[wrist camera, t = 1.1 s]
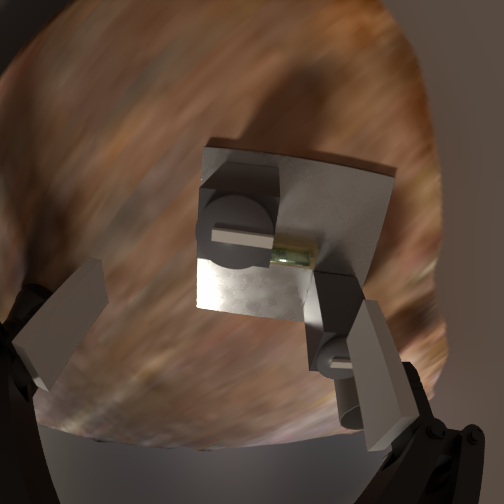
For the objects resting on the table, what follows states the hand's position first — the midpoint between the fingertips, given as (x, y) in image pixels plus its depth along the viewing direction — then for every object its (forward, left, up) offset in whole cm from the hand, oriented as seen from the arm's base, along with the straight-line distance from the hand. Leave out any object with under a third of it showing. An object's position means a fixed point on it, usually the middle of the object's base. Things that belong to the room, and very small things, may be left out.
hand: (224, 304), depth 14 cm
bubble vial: (+4, -6, -18) cm, 19 cm away
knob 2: (+10, -11, -18) cm, 23 cm away
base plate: (+4, -6, -19) cm, 20 cm away
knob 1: (-1, 0, -18) cm, 18 cm away
